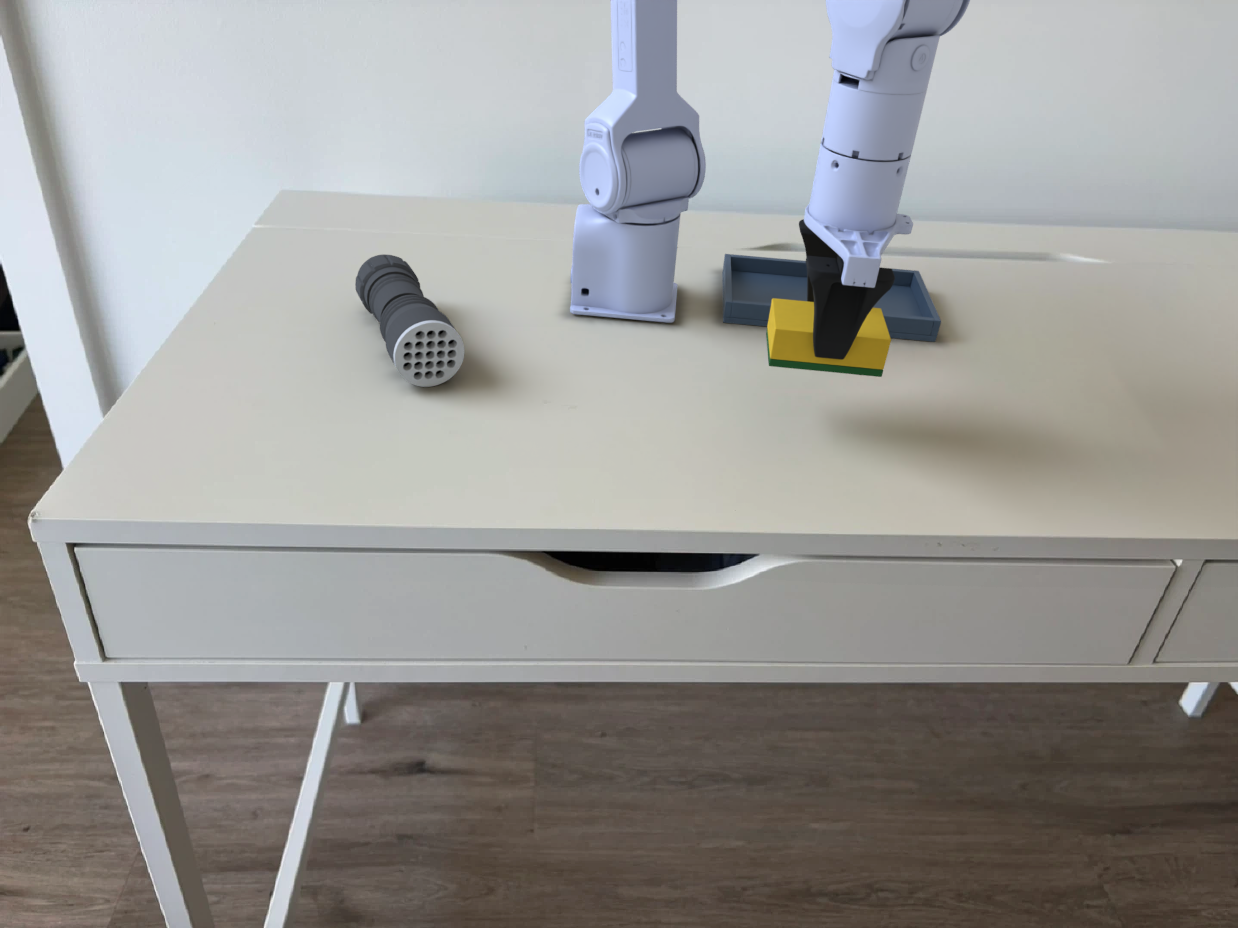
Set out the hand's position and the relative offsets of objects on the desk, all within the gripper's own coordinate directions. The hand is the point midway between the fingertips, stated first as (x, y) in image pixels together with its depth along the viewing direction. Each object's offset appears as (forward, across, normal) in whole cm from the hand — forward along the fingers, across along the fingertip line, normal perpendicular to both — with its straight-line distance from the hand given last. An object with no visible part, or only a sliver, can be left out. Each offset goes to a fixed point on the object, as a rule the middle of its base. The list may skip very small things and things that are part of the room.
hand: (825, 338), depth 67 cm
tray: (+7, +22, -3) cm, 23 cm away
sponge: (+1, 0, 0) cm, 1 cm away
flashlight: (+8, +6, +33) cm, 34 cm away
